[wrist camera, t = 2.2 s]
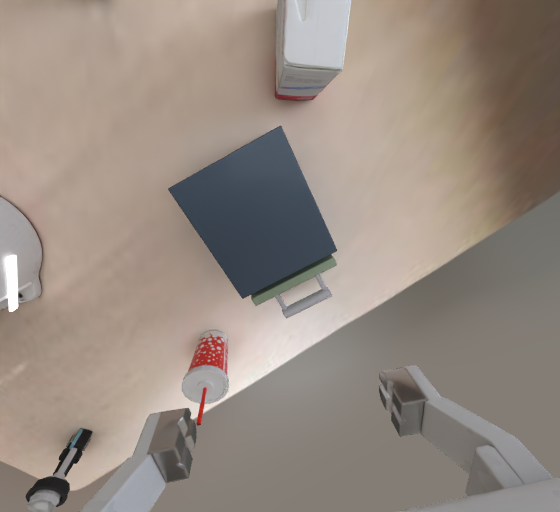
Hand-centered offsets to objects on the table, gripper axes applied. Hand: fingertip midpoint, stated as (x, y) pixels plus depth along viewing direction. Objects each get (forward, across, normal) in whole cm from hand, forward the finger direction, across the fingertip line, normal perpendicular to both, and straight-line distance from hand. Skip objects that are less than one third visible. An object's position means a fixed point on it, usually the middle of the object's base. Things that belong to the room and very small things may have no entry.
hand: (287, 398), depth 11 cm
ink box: (+28, +7, +19) cm, 34 cm away
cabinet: (+28, 0, +2) cm, 28 cm away
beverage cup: (+28, -11, -18) cm, 35 cm away
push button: (+27, -39, -34) cm, 59 cm away
